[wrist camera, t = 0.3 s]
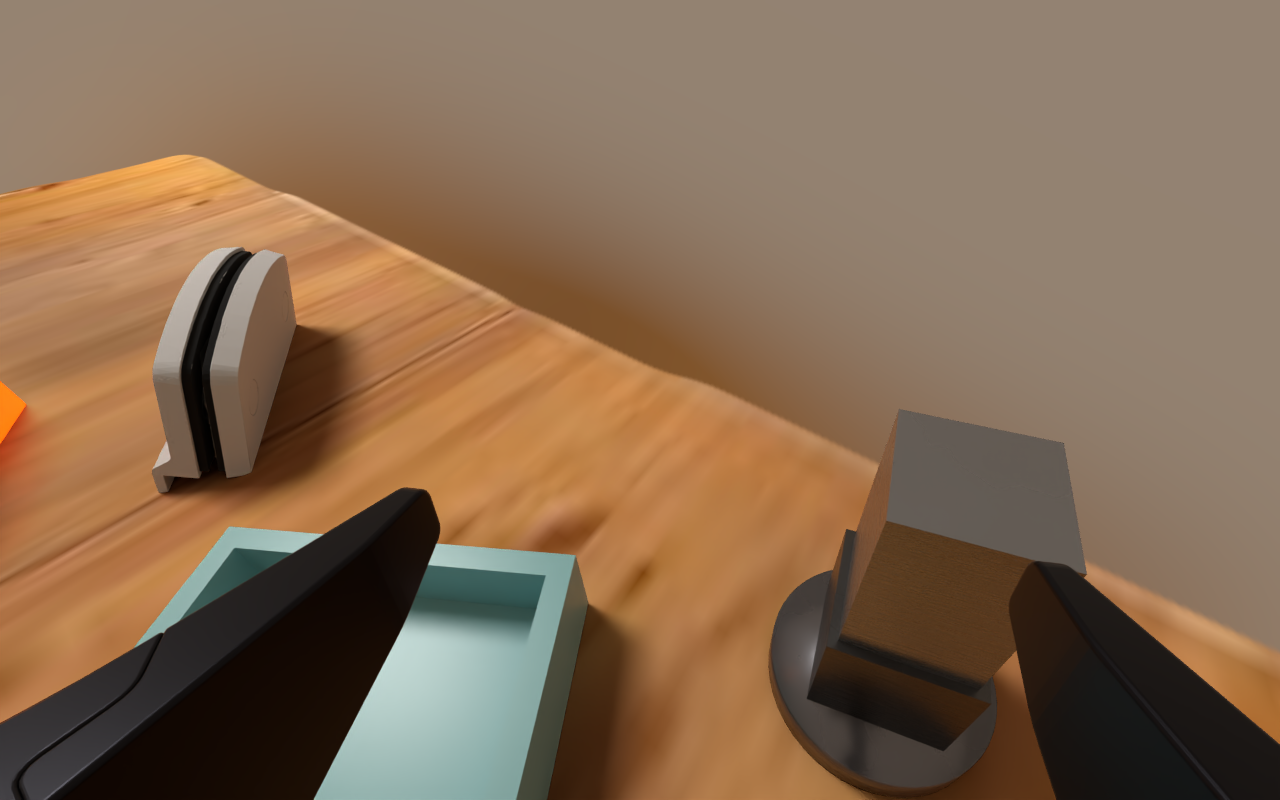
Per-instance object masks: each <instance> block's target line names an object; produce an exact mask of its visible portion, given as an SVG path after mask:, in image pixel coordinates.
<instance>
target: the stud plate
mask: <svg viewBox="0 0 1280 800" xmlns="http://www.w3.org/2000/svg"><path fill="white" fill-rule="evenodd" d="M832 572H833V570H831V571H826V572H824V573H821V574H818V575H816V576H814V577H812V578H810V579H808V580H806V581H805V582H804V583H802V584H801V585H800V586H798V587H797V588H796V589H795V590H794V591H793V592H792V593H791V594H790V595H789V597H788V598H787V600H786V601H785V602H784V604H783V605H782V607H781V609H780V611H779V613H778V616H777V619H776V622H775V625H774V630H773V634H772V639H771V644H770V650H769V666H768V667H769V677H770V683H771V687H772V692H773V695H774V698H775V701H776V704H777V707H778V709H779V711H780V713H781V715H782V717H783V719H784V721H785V723H786V725H787V726H788V728H789V729H790V731H791V733H792V734H793V736H794V737H795V738H796V739H797V741H798V742H799V743H800V744H801V746H802V747H803V748H804V749H805V750H806V751H807V752H808V753H809V754H810V755H811V756H812V757H813V758H814V759H815V760H816V761H817V762H818V763H819V764H820V765H822V766H823V767H824V768H825V769H826V770H828V771H829V772H831V773H832V774H834V775H835V776H837V777H838V778H840V779H841V780H843V781H845V782H847V783H849V784H851V785H853V786H855V787H857V788H859V789H862V790H865V791H868V792H871V793H874V794H878V795H883V796H888V797H900V798H909V797H919V796H924V795H927V794H931V793H935V792H937V791H939V790H941V789H943V788H945V787H947V786H948V785H950V784H951V783H952V782H954V781H955V780H957V779H958V778H959V777H960V776H962V775H963V774H964V773H965V772H966V771H968V770H969V769H970V768H971V767H972V766H973V765H974V764H975V763H976V762H977V761H978V760H979V759H980V758H981V757H982V755H983V753H984V752H985V750H986V748H987V747H988V745H989V743H990V740H991V738H992V735H993V732H994V728H995V723H996V716H997V700H996V691H995V685H994V681H993V677H991V700H992V704H991V705H990V706H989V707H988V708H987V709H986V710H985V711H984V712H983V713H982V714H981V715H980V716H979V717H978V718H977V719H976V720H975V721H974V722H973V723H972V724H971V725H970V726H969V727H968V728H967V729H966V730H965V731H964V732H963V733H962V734H961V735H960V736H959V737H958V738H957V739H956V740H955V741H954V742H953V743H952V744H951V745H950V746H949V747H948V748H947V749H946V750H945V751H941V750H939V749H936V748H933V747H931V746H928V745H926V744H923V743H920V742H918V741H915V740H913V739H910V738H907V737H905V736H902V735H899V734H897V733H894V732H892V731H889V730H886V729H884V728H881V727H879V726H876V725H873V724H871V723H868V722H866V721H863V720H860V719H858V718H855V717H852V716H850V715H847V714H845V713H842V712H839V711H837V710H834V709H832V708H829V707H826V706H824V705H821V704H819V703H816V702H813V701H811V700H808V699H807V694H808V688H809V683H810V678H811V672H812V667H813V661H814V656H815V650H816V645H817V639H818V634H819V629H820V623H821V618H822V612H823V607H824V601H825V596H826V590H827V587H828V584H829V581H830V578H831V575H832Z"/></svg>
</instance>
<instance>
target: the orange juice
mask: <svg viewBox="0 0 1280 800" xmlns="http://www.w3.org/2000/svg"><path fill="white" fill-rule="evenodd" d="M25 406H26V404H25V403H24V402H23V401H22V400H21V399H20V398H19V397H18V396H16V395H15V394H14V393H13V392H12V391H11V390H10V389H9V388H7V387H6V386H5V385H4V384H3V383H2V382H1V381H0V444H1V442H2V441H3V439H4V438H5V436H6V434H7V433H8V431H9V430H10V428H11V427H12V425H13V424H14V422H15V421H16V419H17V418H18V416H19V415H20V413H21V412H22V410H23V409H24V407H25Z"/></svg>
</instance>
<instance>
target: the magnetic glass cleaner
mask: <svg viewBox="0 0 1280 800" xmlns="http://www.w3.org/2000/svg"><path fill="white" fill-rule="evenodd" d="M296 325H297V324H296V318H295V312H294V305H293V299H292V293H291V286H290V280H289V274H288V267H287V261H286V257H285V256H284V255H282V254H279V253H275V252H272V251H268V250H262V251H260V252H258V253H255V254H253V255H252V253H251V252H247V251H245V249H244V248H243V247H234V248H220V249H217V250H214V251H213V252H211V253H209V254H208V255H207V256H205V257H204V258H203V259H202V260H201V261H200V262H199V263H198V264H197V265H196V267H195V268H194V269H193V271H192V272H191V273H190V275H189V277H188V278H187V280H186V282H185V283H184V285H183V287H182V289H181V290H180V292H179V294H178V296H177V299H176V301H175V303H174V305H173V308H172V310H171V313H170V315H169V317H168V320H167V322H166V325H165V328H164V331H163V334H162V337H161V340H160V343H159V347H158V350H157V354H156V357H155V360H154V365H153V383H154V387H155V392H156V396H157V400H158V405H159V409H160V413H161V418H162V422H163V427H164V431H165V435H166V440H167V441H166V443H165V445H164V447H163V449H162V451H161V453H160V455H159V457H158V459H157V461H156V464H155V466H154V468H153V470H152V475H153V478H154V480H155V483H156V486H157V489H158V492H161V493H162V492H168V491H169V489H170V487H171V484H172V482H173V480H174V477H175V476H177V477H189V478H200V475H201V473H202V471H209V470H210V467H211V464H212V462H213V459H214V456H215V454H216V460H217V465H218V471H226V476H227V478H230V477H236V476H243V475H246V474H248V473H251V472H252V469H253V465H254V462H255V459H256V456H257V452H258V449H259V446H260V443H261V439H262V436H263V433H264V429H265V426H266V423H267V420H268V416H269V413H270V410H271V407H272V403H273V400H274V397H275V393H276V390H277V387H278V384H279V380H280V377H281V374H282V370H283V367H284V364H285V361H286V357H287V354H288V351H289V348H290V344H291V341H292V338H293V334H294V331H295V328H296Z"/></svg>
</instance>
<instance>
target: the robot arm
mask: <svg viewBox="0 0 1280 800" xmlns="http://www.w3.org/2000/svg"><path fill="white" fill-rule="evenodd" d="M439 535H440V523H439V519H438V517H437V514H436V511H435V508H434V505H433V502H432V499H431V496H430V494H429V493H428V492H427V491H426V490H424V489H416V488H407V487H406V488H401V489H399V490H397V491H395V492H393V493H392V494H390V495H388V496H387V497H385V498H383V499H382V500H380V501H378V502H377V503H375V504H373V505H372V506H370V507H368V508H367V509H365V510H363V511H362V512H360V513H358V514H357V515H355V516H353V517H352V518H350V519H348V520H347V521H345V522H343V523H342V524H340V525H338V526H337V527H335V528H333V529H332V530H330V531H328V532H327V533H325V534H323V535H322V536H320V537H318V538H317V539H315V540H313V541H312V542H310V543H308V544H307V545H305V546H303V547H302V548H300V549H298V550H297V551H295V552H293V553H292V554H290V555H288V556H287V557H285V558H283V559H282V560H280V561H278V562H277V563H275V564H273V565H272V566H270V567H268V568H267V569H265V570H263V571H262V572H260V573H258V574H257V575H255V576H254V577H252V578H250V579H249V580H247V581H245V582H244V583H242V584H240V585H239V586H237V587H235V588H233V589H232V590H230V591H228V592H227V593H225V594H223V595H222V596H220V597H218V598H217V599H215V600H213V601H212V602H210V603H208V604H207V605H205V606H203V607H202V608H200V609H198V610H197V611H195V612H193V613H192V614H190V615H188V616H187V617H185V618H183V619H182V620H180V621H178V622H177V623H175V624H173V625H172V626H170V627H168V628H167V629H166V630H165V632H164V633H158V634H157V635H155V636H153V637H152V638H150V639H148V640H147V641H145V642H143V643H142V644H140V645H138V646H137V647H135V648H133V649H132V650H130V651H128V652H127V653H125V654H123V655H121V656H120V657H118V658H116V659H115V660H113V661H111V662H109V663H108V664H106V665H104V666H103V667H101V668H99V669H97V670H96V671H94V672H92V673H91V674H89V675H87V676H85V677H84V678H82V679H80V680H78V681H77V682H75V683H73V684H71V685H69V686H67V687H66V688H64V689H62V690H60V691H58V692H56V693H55V694H53V695H51V696H49V697H47V698H46V699H44V700H42V701H40V702H38V703H36V704H35V705H33V706H31V707H29V708H27V709H26V710H24V711H22V712H20V713H18V714H16V715H14V716H12V717H11V718H9V719H7V720H5V721H3V722H1V723H0V800H314V798H315V796H316V794H317V792H318V790H319V789H320V787H321V785H322V783H323V781H324V779H325V777H326V775H327V773H328V771H329V769H330V767H331V765H332V763H333V761H334V759H335V758H336V756H337V754H338V752H339V750H340V748H341V746H342V744H343V742H344V740H345V738H346V736H347V734H348V732H349V730H350V729H351V727H352V725H353V723H354V721H355V719H356V717H357V715H358V713H359V711H360V709H361V707H362V705H363V703H364V701H365V700H366V698H367V696H368V694H369V692H370V690H371V688H372V686H373V684H374V682H375V680H376V678H377V676H378V674H379V672H380V671H381V669H382V667H383V665H384V663H385V661H386V659H387V657H388V655H389V653H390V651H391V649H392V647H393V645H394V643H395V642H396V640H397V638H398V636H399V634H400V632H401V630H402V628H403V625H404V623H405V621H406V619H407V617H408V614H409V612H410V610H411V607H412V605H413V602H414V600H415V597H416V595H417V592H418V589H419V587H420V584H421V582H422V579H423V577H424V574H425V572H426V569H427V567H428V564H429V562H430V559H431V557H432V554H433V551H434V549H435V546H436V544H437V541H438V539H439ZM1009 616H1010V621H1011V626H1012V631H1013V635H1014V640H1015V645H1016V650H1017V655H1018V659H1019V664H1020V669H1021V674H1022V679H1023V684H1024V688H1025V693H1026V698H1027V703H1028V708H1029V712H1030V716H1031V720H1032V724H1033V728H1034V731H1035V735H1036V738H1037V741H1038V745H1039V748H1040V751H1041V754H1042V757H1043V760H1044V763H1045V766H1046V769H1047V772H1048V776H1049V779H1050V782H1051V785H1052V788H1053V791H1054V794H1055V797H1056V800H1280V744H1279V743H1278V742H1276V741H1275V740H1274V739H1273V738H1272V737H1270V736H1269V735H1268V734H1267V733H1266V732H1265V731H1263V730H1262V729H1261V728H1260V727H1259V726H1257V725H1256V724H1255V723H1254V722H1253V721H1252V720H1250V719H1249V718H1248V717H1247V716H1246V715H1245V714H1243V713H1242V712H1241V711H1240V710H1239V709H1237V708H1236V707H1235V706H1234V705H1233V704H1232V703H1230V702H1229V701H1228V700H1227V699H1226V698H1225V697H1223V696H1222V695H1221V694H1220V693H1219V692H1217V691H1216V690H1215V689H1214V688H1213V687H1212V686H1210V685H1209V684H1208V683H1207V682H1206V681H1204V680H1203V679H1202V678H1201V677H1200V676H1199V675H1197V674H1196V673H1195V672H1194V671H1193V670H1192V669H1190V668H1189V667H1188V666H1187V665H1186V664H1184V663H1183V662H1182V661H1181V660H1180V659H1179V658H1177V657H1176V656H1175V655H1174V654H1173V653H1172V652H1170V651H1169V650H1168V649H1167V648H1166V647H1164V646H1163V645H1162V644H1161V643H1160V642H1159V641H1157V640H1156V639H1155V638H1154V637H1153V636H1151V635H1150V634H1149V633H1148V632H1147V631H1146V630H1144V629H1143V628H1142V627H1141V626H1140V625H1139V624H1137V623H1136V622H1135V621H1134V620H1133V619H1131V618H1130V617H1129V616H1128V615H1127V614H1126V613H1124V612H1123V611H1122V610H1121V609H1120V608H1119V607H1117V606H1116V605H1115V604H1114V603H1113V602H1111V601H1110V600H1109V599H1108V598H1107V597H1106V596H1104V595H1103V594H1102V593H1101V592H1100V591H1098V590H1097V589H1096V588H1095V587H1094V586H1093V585H1091V584H1090V583H1089V582H1088V581H1087V580H1086V579H1084V578H1083V577H1082V576H1081V575H1080V574H1078V573H1077V572H1076V571H1075V570H1074V569H1072V568H1071V567H1069V566H1067V565H1065V564H1060V563H1052V562H1044V561H1033V562H1031V563H1029V564H1028V565H1027V567H1026V569H1025V570H1024V572H1023V574H1022V576H1021V578H1020V580H1019V582H1018V583H1017V585H1016V587H1015V589H1014V591H1013V593H1012V595H1011V597H1010V600H1009Z"/></svg>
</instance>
